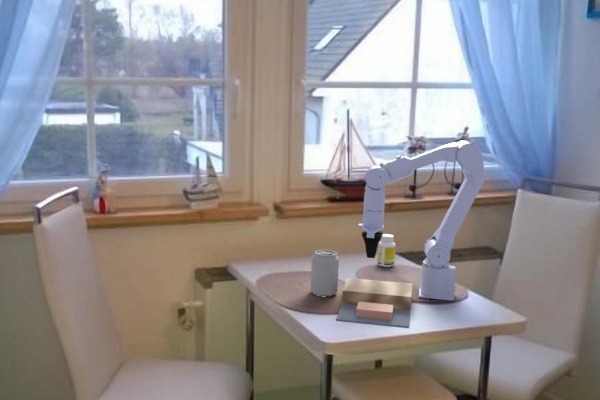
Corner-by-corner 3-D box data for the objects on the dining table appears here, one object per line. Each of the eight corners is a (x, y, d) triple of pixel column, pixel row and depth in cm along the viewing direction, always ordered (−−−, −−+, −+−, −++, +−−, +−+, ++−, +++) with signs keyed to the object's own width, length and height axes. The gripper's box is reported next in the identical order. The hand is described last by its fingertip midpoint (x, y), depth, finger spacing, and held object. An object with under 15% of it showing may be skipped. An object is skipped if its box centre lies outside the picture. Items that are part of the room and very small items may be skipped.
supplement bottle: (397, 264, 234) (399, 235, 232) (389, 268, 229) (391, 238, 227) (381, 261, 236) (383, 232, 235) (374, 265, 232) (376, 235, 230)
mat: (410, 311, 190) (410, 310, 190) (408, 327, 178) (409, 326, 178) (341, 304, 193) (341, 303, 193) (336, 320, 181) (336, 319, 181)
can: (328, 299, 196) (330, 257, 194) (305, 294, 200) (307, 252, 198) (342, 293, 203) (344, 251, 200) (319, 287, 206) (320, 246, 204)
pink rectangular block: (392, 312, 182) (391, 320, 182) (393, 304, 187) (392, 312, 188) (356, 308, 183) (355, 316, 183) (358, 301, 189) (358, 308, 189)
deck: (411, 297, 201) (412, 283, 201) (410, 311, 190) (411, 296, 189) (346, 291, 204) (347, 277, 204) (341, 304, 193) (342, 290, 192)
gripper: (361, 203, 208) (359, 249, 211) (356, 213, 194) (354, 262, 197) (386, 205, 207) (383, 251, 210) (383, 215, 193) (380, 265, 196)
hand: (370, 257), depth 203 cm, fingers closed
